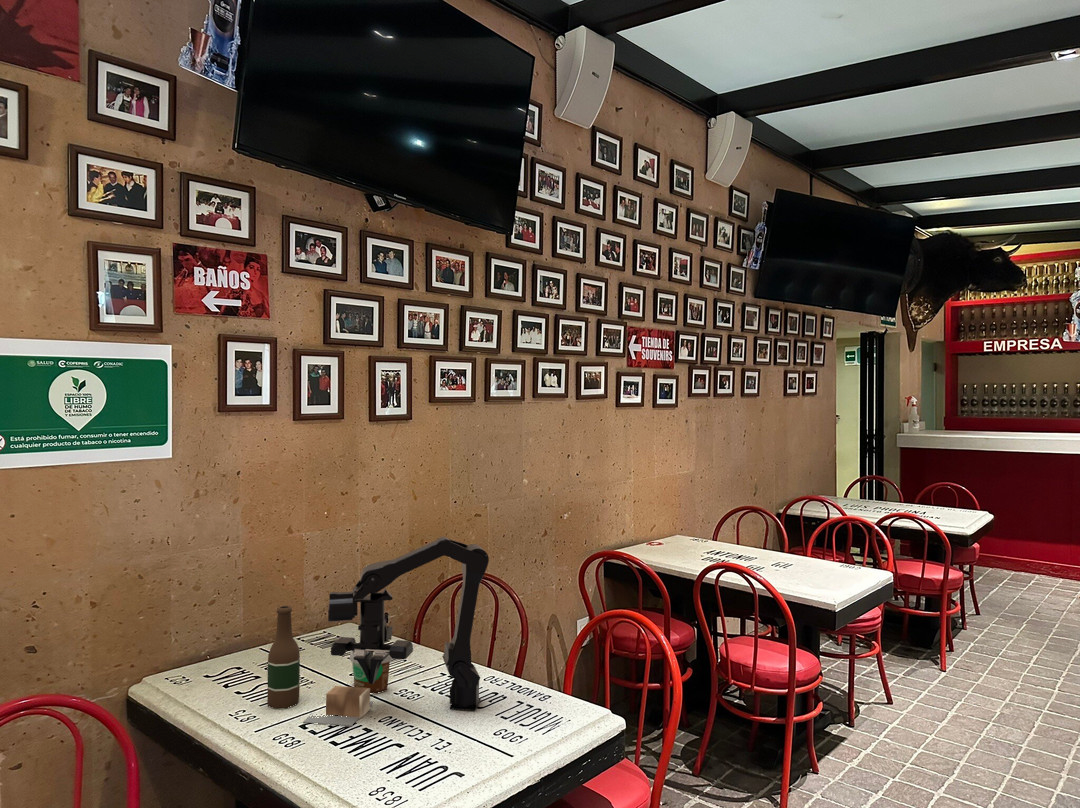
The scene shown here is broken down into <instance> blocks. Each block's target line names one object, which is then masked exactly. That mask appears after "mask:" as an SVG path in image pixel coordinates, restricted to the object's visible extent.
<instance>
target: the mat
mask: <svg viewBox="0 0 1080 808" xmlns="http://www.w3.org/2000/svg"><path fill="white" fill-rule="evenodd" d="M373 702H374V703H375V701H374V700H370V707H371V706H372V705H373V704H374V703H373ZM316 715H317V714H316ZM321 715H322V714H321ZM324 716H325V715H323V716H322V717H321V716H317V717H319V718H317V717H316V716H313V715H312V716H311V717H310V715H309V716H307V718H306V719H304V720H302V723H303V724H307V723H318V724H317V725H321V724H330V725H329V726H334V725H340V726H339V727H350V728H351V727H353V726H354V725H355V724H356V723H357V722H358V720H359V719H361V717H349V716H347V717H346V716H342V717H341V716H340V717H339V716H334V715H333V716H332V715H331V716H330V715H328V716H327V715H326V716H327V717H326V716H325V717H324ZM312 717H313V718H312ZM315 717H316V718H315ZM356 721H357V722H356ZM355 722H356V723H355ZM354 723H355V724H354ZM353 724H354V725H353Z"/></svg>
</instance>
